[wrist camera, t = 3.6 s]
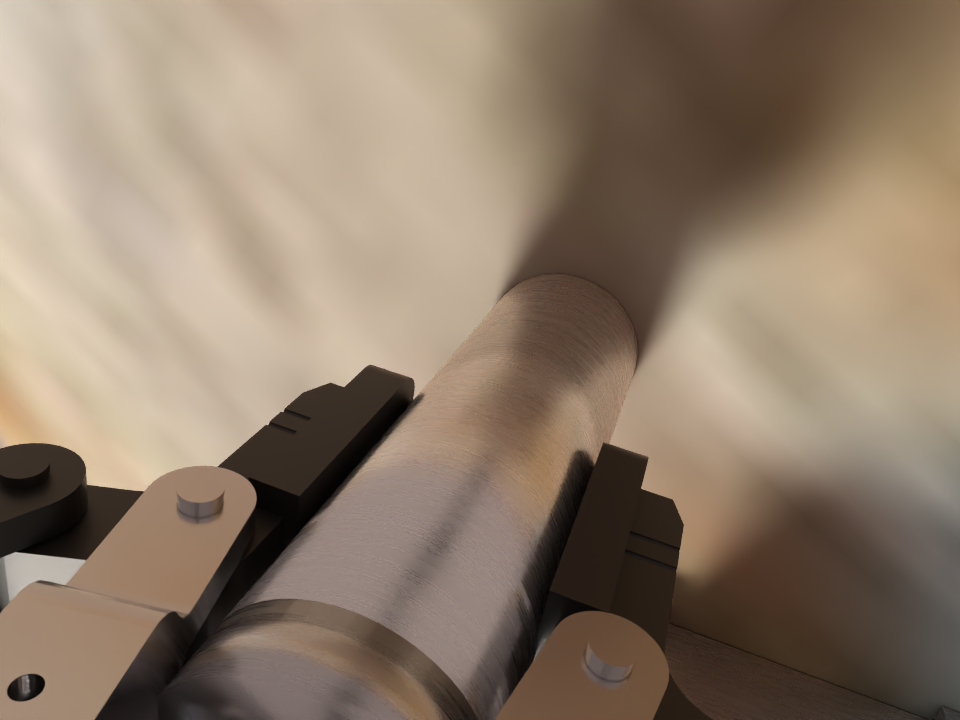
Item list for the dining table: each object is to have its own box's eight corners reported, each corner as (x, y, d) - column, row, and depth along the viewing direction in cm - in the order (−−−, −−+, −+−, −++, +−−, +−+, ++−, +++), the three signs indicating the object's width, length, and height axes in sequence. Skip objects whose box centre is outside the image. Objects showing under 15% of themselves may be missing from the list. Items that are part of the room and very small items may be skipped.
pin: (503, 255, 16) (133, 624, 7) (656, 299, 16) (487, 776, 6) (475, 388, 18) (140, 844, 8) (614, 434, 17) (425, 986, 8)
